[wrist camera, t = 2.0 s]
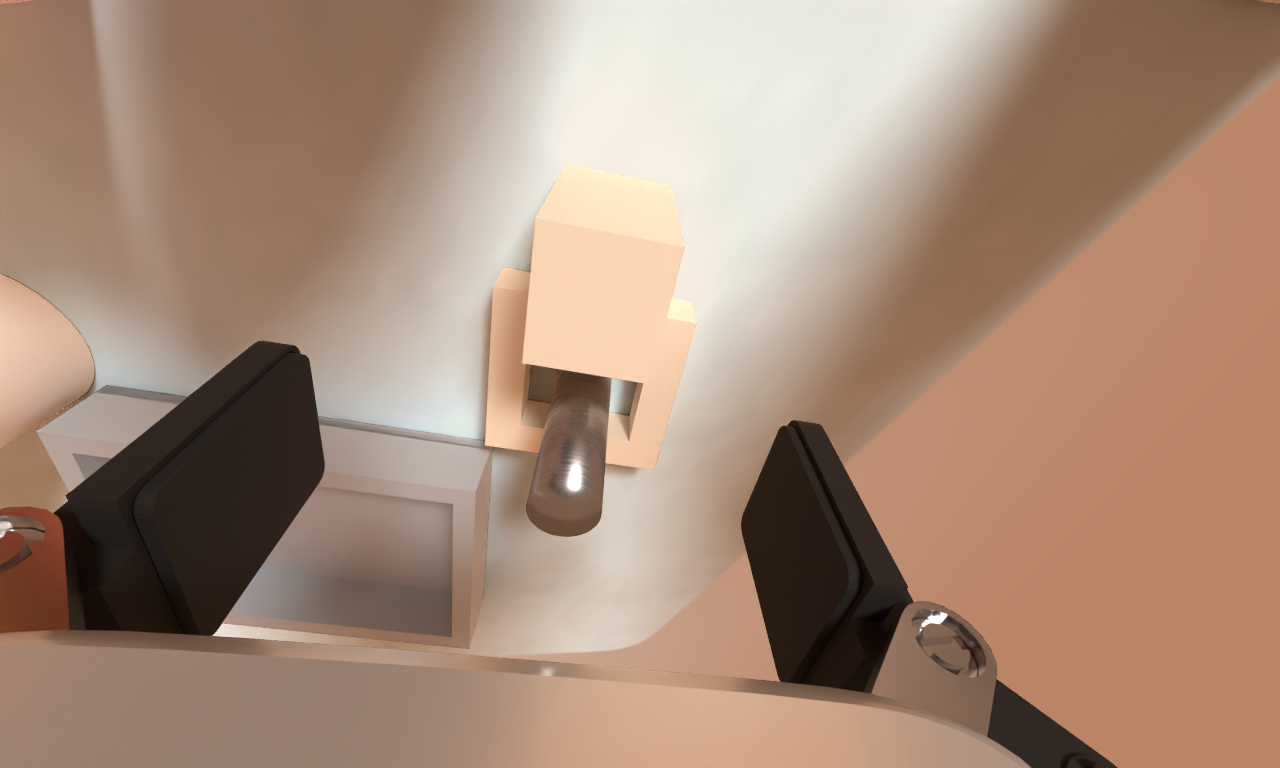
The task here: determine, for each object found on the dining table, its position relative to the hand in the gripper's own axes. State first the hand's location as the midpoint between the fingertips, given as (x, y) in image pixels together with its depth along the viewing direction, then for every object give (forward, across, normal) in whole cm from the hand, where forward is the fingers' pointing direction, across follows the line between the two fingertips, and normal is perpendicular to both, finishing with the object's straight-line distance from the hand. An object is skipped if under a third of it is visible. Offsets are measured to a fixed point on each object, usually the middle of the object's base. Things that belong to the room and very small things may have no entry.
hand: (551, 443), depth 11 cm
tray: (+13, +12, +18) cm, 25 cm away
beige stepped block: (+13, -1, +3) cm, 13 cm away
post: (+13, -1, +6) cm, 14 cm away
